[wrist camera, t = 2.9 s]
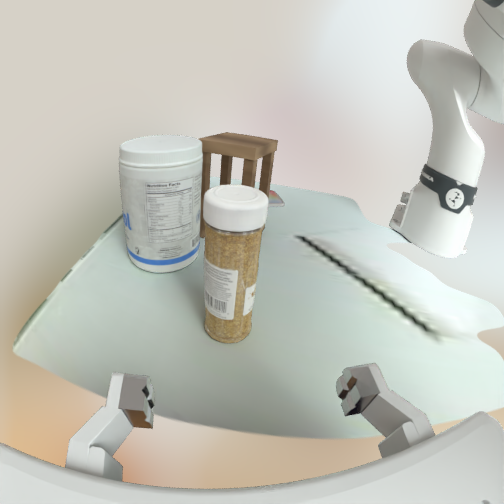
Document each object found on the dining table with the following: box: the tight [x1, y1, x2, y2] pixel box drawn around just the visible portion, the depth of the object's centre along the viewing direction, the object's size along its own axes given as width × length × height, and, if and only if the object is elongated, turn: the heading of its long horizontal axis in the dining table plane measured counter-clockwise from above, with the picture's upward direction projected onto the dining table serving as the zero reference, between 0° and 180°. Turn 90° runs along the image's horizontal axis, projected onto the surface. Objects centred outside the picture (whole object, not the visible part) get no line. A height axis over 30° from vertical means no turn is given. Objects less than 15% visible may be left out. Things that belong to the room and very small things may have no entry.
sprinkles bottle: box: [203, 185, 269, 343], centre depth 23 cm, size 5×5×14 cm
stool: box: [199, 132, 278, 238], centre depth 38 cm, size 8×8×14 cm
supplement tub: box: [119, 135, 203, 273], centre depth 32 cm, size 10×10×15 cm
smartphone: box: [268, 190, 285, 207], centre depth 54 cm, size 7×1×15 cm
